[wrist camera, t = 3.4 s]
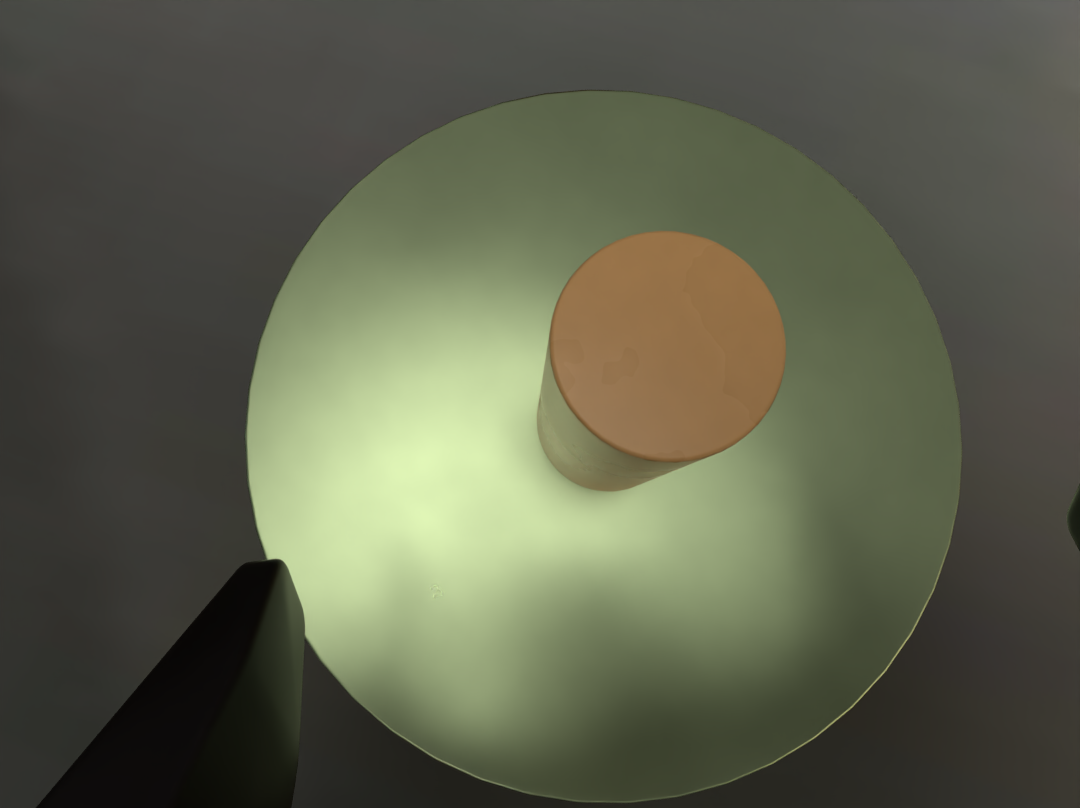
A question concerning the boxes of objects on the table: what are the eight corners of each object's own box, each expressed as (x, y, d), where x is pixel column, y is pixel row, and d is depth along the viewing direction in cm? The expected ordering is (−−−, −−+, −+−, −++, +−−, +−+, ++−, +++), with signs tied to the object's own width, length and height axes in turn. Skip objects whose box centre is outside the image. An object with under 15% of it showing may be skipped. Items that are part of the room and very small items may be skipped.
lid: (1055, 593, 15) (1508, 644, 8) (428, 916, 14) (340, 1295, 7) (743, 26, 17) (900, -326, 10) (163, 268, 16) (-118, 60, 9)
